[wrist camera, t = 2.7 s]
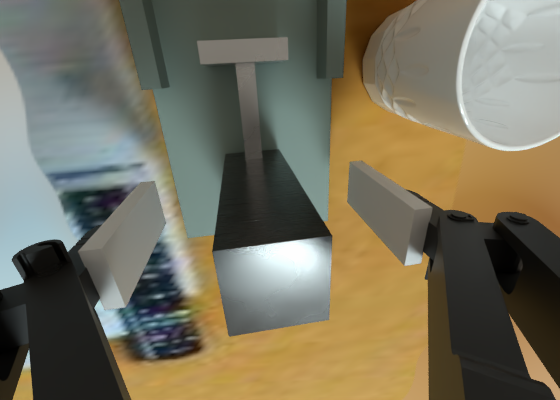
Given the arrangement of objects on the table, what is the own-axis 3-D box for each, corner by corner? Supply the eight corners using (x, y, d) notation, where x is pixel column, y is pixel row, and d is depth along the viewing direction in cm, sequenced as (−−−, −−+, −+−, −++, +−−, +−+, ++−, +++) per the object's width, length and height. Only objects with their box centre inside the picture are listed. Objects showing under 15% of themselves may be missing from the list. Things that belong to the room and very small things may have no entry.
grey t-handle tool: (240, 293, 23) (244, 461, 13) (202, 46, 15) (138, -15, 5) (290, 286, 23) (332, 441, 13) (279, 43, 16) (359, -19, 6)
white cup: (423, 131, 22) (556, 168, 13) (337, 103, 20) (422, 125, 11) (476, 21, 19) (696, -31, 10) (381, -24, 17) (546, -138, 8)
